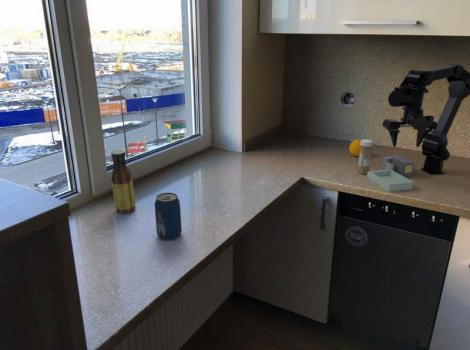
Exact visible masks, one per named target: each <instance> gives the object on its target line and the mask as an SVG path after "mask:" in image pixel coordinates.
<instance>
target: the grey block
mask: <svg viewBox="0 0 470 350" xmlns="http://www.w3.org/2000/svg"><path fill="white" fill-rule="evenodd" d="M398 156H399V157H392V163H391V164H393V165H395V168H394V172H396V173H398V174H400V175H402V176H404V177H405V178H412V175H413V170H414V164H415V162H414V161H412V160H409V159H407V158H405V157H403V156H401V155H398Z"/></svg>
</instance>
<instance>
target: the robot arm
mask: <svg viewBox="0 0 470 350" xmlns="http://www.w3.org/2000/svg"><path fill="white" fill-rule="evenodd" d="M443 79H446V81H447V83H448V87H447V91H448V98H447V100H446V102H445V104H444V107H443V109H442V112H440V113H441V114H440V115H439V118H438V120H437V121H436V120H435V117H434V116H433V115H424V109H422V108H423V102H424V97H425V94H428V93H429V90H428V89H427V87H429V86H430V85H432V84H433V82H435V81H438V80H443ZM469 96H470V72H469V71H467V70H466V68H464V66H463V65H461V64H455V63H449V64H447V65H443V66H438V67H434V68H430V69H420V68H419V69H418V68H417V69H415V68H414V69H413V68H412V69H410V70H409V71H408V73H407V74H406V76H405V77H404V78H403V80H402V82H401V83H400V84H399V86H394V89H393V90H392V91H391V92H390V93H389V95H388V98H387V101H388V104H389V105H390V107H393V108H397V107H398V108H399V107H402V111H403V115H402V117H400V121H399V120H397V119H395V118H392V119H391V118H388V119H387V118H385V119H384V120H383V121H382V127H383V128H385V130H387V131H388V133H389V136H390V139H391V142H392V143H391V144H392V146H393V147H394V148H396V147H397V142H398V137H399V133H400V132H401V130H400V129H401V128H402V127H403V128H405V127H406V128H413V130H415V131H417V132H416V140H415V141H416V142H415V143H416V144H415V145H416V148H419V147H420V146H421V154H422V156H425V160H424V161H423V167H421V168H420V170H421V171H423V172H425V173H427V174H429V175H440V174H441V175H442V174H445V173H446V172H445V171H443V167H444V163H445V161H447V160H449V158H450V156H451V153H450V152H449V149H448V148H447V147H448V144H449V141H448V133H449V131H450V129H451V127H452V125H453V123H454V120H455V117H456V116H457V113H458V111H459V109H460V107H461V105H462V103H463V101H464V99H466V98H467V97H469Z"/></svg>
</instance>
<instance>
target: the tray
mask: <svg viewBox="0 0 470 350" xmlns="http://www.w3.org/2000/svg"><path fill="white" fill-rule="evenodd" d="M366 179H367V180H369V181H370V182H372V183H373V184H375V185H377V186H379V187H380V188H382V189H383V190H385V191H386V192H387V193H392V192H398V191H408V190H409V191H410V190H413V189H414V183H415V181H413V180H411V179H410V178H408V177H404V176H402V175H400V174H398V173H396V172H394V171H393V170H391V169H389V170H384V169H379V170H378V169H377V170H371V171H370V170H369V171H368V173H367V174H366Z"/></svg>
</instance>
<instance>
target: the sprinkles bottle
mask: <svg viewBox="0 0 470 350" xmlns="http://www.w3.org/2000/svg"><path fill="white" fill-rule="evenodd" d="M360 140H361V144H360V145H361V148H360V155H359V156H358V164H357V165H358V166H357V167H358V168H357V173H358V174H359V175H367V173H368V171H370V166H371V160H372V159H371V158H372V148H373V144H374V143H373V142H374V141H373V140H372V139H365V138H364V139H360Z"/></svg>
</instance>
